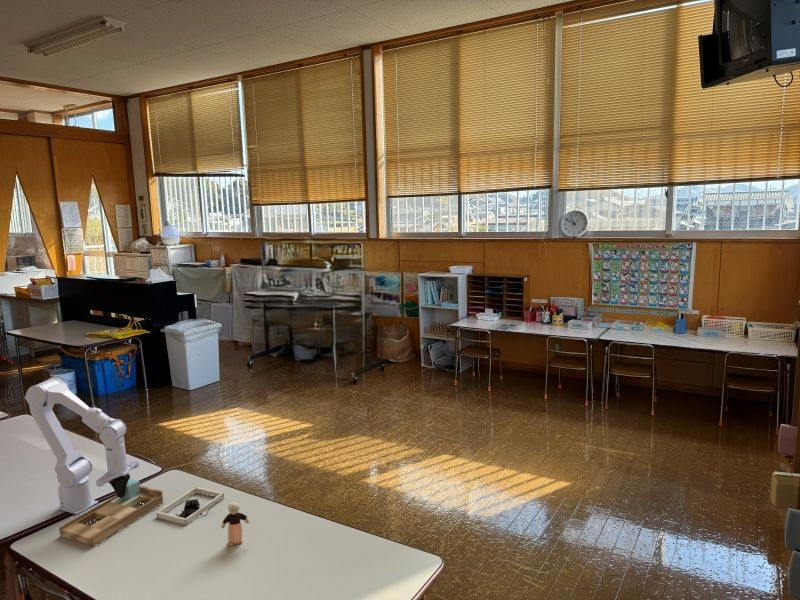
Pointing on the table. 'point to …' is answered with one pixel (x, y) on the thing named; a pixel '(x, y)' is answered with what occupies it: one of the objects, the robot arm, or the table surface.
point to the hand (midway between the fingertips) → (121, 496)
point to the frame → (190, 518)
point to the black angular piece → (190, 508)
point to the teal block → (132, 489)
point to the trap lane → (110, 516)
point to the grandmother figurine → (234, 524)
